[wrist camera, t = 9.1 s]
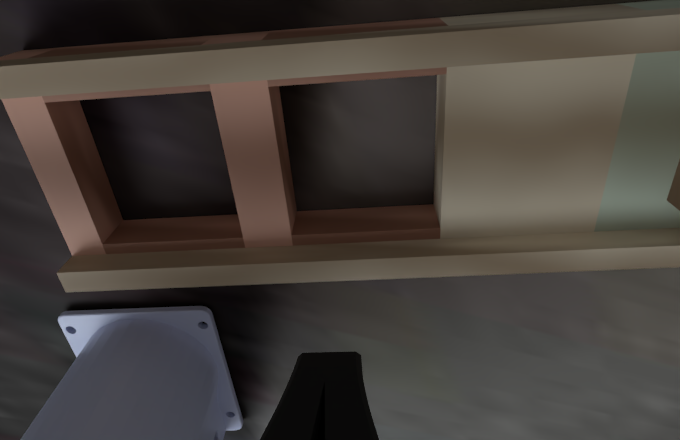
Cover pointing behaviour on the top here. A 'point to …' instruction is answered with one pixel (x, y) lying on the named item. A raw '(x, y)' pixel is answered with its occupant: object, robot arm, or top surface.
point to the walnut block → (675, 189)
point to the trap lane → (450, 149)
